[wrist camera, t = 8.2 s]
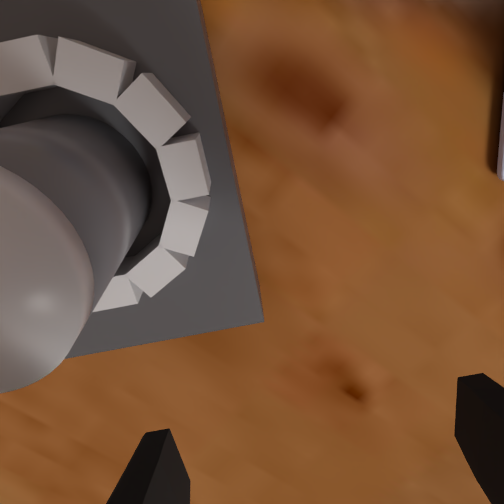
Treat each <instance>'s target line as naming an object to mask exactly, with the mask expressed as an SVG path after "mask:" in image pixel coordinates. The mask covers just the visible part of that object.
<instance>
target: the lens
mask: <svg viewBox="0 0 504 504" xmlns="http://www.w3.org/2000/svg"><path fill="white" fill-rule="evenodd" d="M151 204H152V185H151V180H150V176H149V173H148V170H147V167H146V165H145V163H144V161H143V159H142V158H141V156H140V154H139V153H138V151H137V150H136V149H135V147H134V146H133V145H132V144H131V143H130V142H129V141H128V140H127V139H126V138H125V137H124V136H123V135H122V134H120V133H119V132H118V131H117V130H115V129H114V128H112V127H110V126H109V125H107V124H105V123H103V122H101V121H99V120H96V119H93V118H90V117H87V116H81V115H75V114H61V115H54V116H49V117H45V118H41V119H37V120H32V121H28V122H24V123H20V124H15V125H11V126H7V127H3V128H0V393H4V392H9V391H13V390H16V389H20V388H23V387H26V386H28V385H30V384H32V383H34V382H37V381H39V380H40V379H42V378H43V377H45V376H46V375H48V374H49V373H50V372H52V371H53V370H54V369H55V368H56V367H57V366H58V365H59V364H60V363H61V362H62V361H63V359H64V358H65V357H66V356H67V354H68V353H69V351H70V349H71V348H72V346H73V344H74V342H75V341H76V339H77V337H78V336H79V334H80V332H81V331H82V329H83V327H84V325H85V324H86V322H87V320H88V319H89V317H90V315H91V314H92V312H93V310H94V308H95V307H96V305H97V303H98V302H99V300H100V298H101V297H102V295H103V293H104V291H105V290H106V288H107V286H108V285H109V283H110V281H111V280H112V278H113V276H114V274H115V273H116V271H117V269H118V268H119V266H120V264H121V263H122V261H123V259H124V257H125V256H126V254H127V252H128V251H129V249H130V247H131V246H132V244H133V242H134V240H135V239H136V237H137V235H138V234H139V232H140V230H141V229H142V227H143V225H144V223H145V222H146V220H147V217H148V215H149V212H150V208H151Z"/></svg>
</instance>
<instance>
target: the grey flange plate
mask: <svg viewBox="0 0 504 504" xmlns="http://www.w3.org/2000/svg"><path fill="white" fill-rule="evenodd" d="M61 114H75V115H81V116H87V117H90V118H93V119H96V120H99V121H101V122H103V123H105V124H107V125H109V126H110V127H112V128H114V129H115V130H117V131H118V132H119V133H120V134H122V135H123V136H124V137H125V138H126V139H127V140H128V141H129V142H130V143H131V144H132V145H133V146H134V147H135V149H136V150H137V151H138V153H139V154H140V156H141V158H142V159H143V161H144V163H145V165H146V167H147V170H148V173H149V176H150V180H151V185H152V204H151V208H150V212H149V215H148V217H147V220H146V222H145V223H144V225H143V227H142V229H141V230H140V232H139V234H138V235H137V237H136V239H135V240H134V242H133V244H132V246H131V247H130V249H129V251H128V252H127V254H126V256H125V257H124V259H123V261H122V263H121V264H120V266H119V268H118V269H117V271H116V273H115V274H114V276H113V278H112V280H111V281H110V283H109V285H108V286H107V288H106V290H105V291H104V293H103V295H102V297H101V298H100V300H99V302H98V303H97V305H96V307H95V308H94V310H93V312H92V314H91V315H90V317H89V319H88V320H87V322H86V324H85V325H84V327H83V329H82V331H81V332H80V334H79V336H78V337H77V339H76V341H75V342H74V344H73V346H72V348H71V349H70V351H69V353H68V354H67V356H66V357H65V358H64V359H66V358H71V357H77V356H82V355H88V354H93V353H98V352H104V351H109V350H115V349H120V348H125V347H131V346H136V345H142V344H147V343H152V342H158V341H163V340H169V339H174V338H179V337H185V336H190V335H196V334H201V333H206V332H212V331H217V330H223V329H228V328H233V327H239V326H244V325H250V324H255V323H260V322H264V316H263V308H262V301H261V293H260V285H259V281H258V276H257V271H256V266H255V261H254V257H253V252H252V247H251V242H250V237H249V233H248V228H247V223H246V218H245V213H244V209H243V204H242V199H241V194H240V189H239V185H238V180H237V175H236V170H235V165H234V160H233V156H232V151H231V146H230V141H229V136H228V132H227V127H226V122H225V117H224V112H223V108H222V103H221V98H220V93H219V88H218V84H217V79H216V74H215V69H214V64H213V60H212V55H211V50H210V45H209V40H208V36H207V31H206V26H205V21H204V16H203V11H202V7H201V2H200V0H0V128H3V127H7V126H11V125H15V124H20V123H24V122H28V121H32V120H37V119H41V118H45V117H49V116H54V115H61Z"/></svg>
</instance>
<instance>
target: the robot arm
mask: <svg viewBox="0 0 504 504" xmlns="http://www.w3.org/2000/svg"><path fill="white" fill-rule="evenodd" d="M497 176H498V178H499V179H501V180H503V181H504V94H503V106H502V118H501V129H500V141H499V153H498V164H497ZM455 437H456V440H457V442H458V444H459V446H460V448H461V450H462V452H463V454H464V456H465V458H466V460H467V462H468V464H469V466H470V468H471V470H472V472H473V474H474V476H475V478H476V480H477V481H478V483H479V485H480V486H481V488H482V489H483V491H484V493H485V494H486V496H487V497H488V499H489V501H490V502H491V504H504V388H503V387H502V386H501V385H499V384H498V383H496V382H495V381H493V380H492V379H491V378H489V377H488V376H486V375H485V374H484V373H480V374H475V375H469V376H463V377H458V381H457V399H456V418H455ZM106 504H190V479H189V476H188V474H187V471H186V469H185V466H184V464H183V461H182V459H181V456H180V454H179V451H178V449H177V446H176V444H175V441H174V439H173V436H172V434H171V431H170V429H164V430H158V431H152V432H147V433H145V435H144V436H143V437H142V439H141V441H140V443H139V445H138V447H137V449H136V450H135V452H134V454H133V456H132V458H131V460H130V462H129V463H128V465H127V467H126V469H125V471H124V473H123V474H122V476H121V478H120V480H119V482H118V483H117V485H116V487H115V489H114V491H113V492H112V494H111V496H110V498H109V499H108V501H107V503H106Z"/></svg>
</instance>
